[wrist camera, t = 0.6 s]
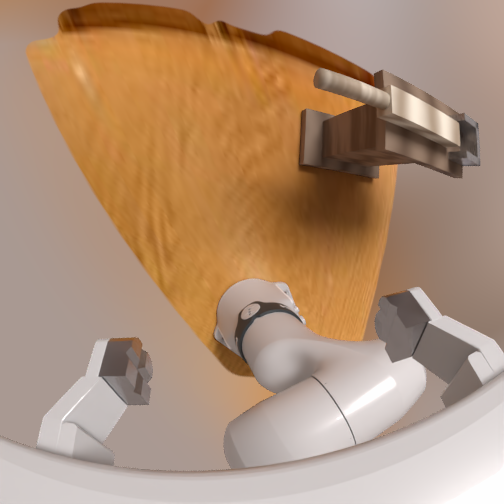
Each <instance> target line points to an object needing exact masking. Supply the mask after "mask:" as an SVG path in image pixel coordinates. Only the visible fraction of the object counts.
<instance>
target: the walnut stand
mask: <svg viewBox="0 0 504 504" xmlns="http://www.w3.org/2000/svg"><path fill="white" fill-rule="evenodd" d="M374 82H375V88H377V89H381V88H383V87H386V86H389V85H393V86H395V87H397V88H399V89H401V90H403V91H405V92H407V93H409V94H411V95H413V96H414V97H416V98H418V99H420V100H422V101H424V102H425V103H427V104H429V105H431V106H432V107H434V108H436V109H438V110H439V111H441V112H443V113H444V114H446V115H447V116H450V115H456V114H459V113H457V112H456V111H454V110H453V109H451V108H450V107H448V106H447V105H445V104H444V103H442V102H441V101H439V100H437V99H436V98H434V97H432V96H431V95H429V94H428V93H426V92H424V91H422V90H421V89H419V88H417V87H415V86H414V85H412V84H410V83H408V82H406V81H404V80H402V79H401V78H399V77H397V76H394V75H393V74H391V73H389V72H386V71H384V70H381V71H379V72H377V73H375V74H374ZM455 151H460V147H448V148H446V147H444V146H442V145H440V144H438V143H436V142H434V141H432V140H430V139H428V138H426V137H423V136H421V135H419V134H417V133H414V132H412V131H410V130H407V129H405V128H403V127H400V126H398V125H395V124H393V123H390V122H388V121H385V120H383V119H380V118H377V108H376V107H373V106H370V105H368V104H365V105H363V106H360V107H357V108H355V109H352V110H349V111H347V112H344V113H342V114H339V115H337V116H334V115H330V114H326V113H322V112H318V111H314V110H310V109H305V110H303V111H302V125H301V144H300V162H299V165H304V166H311V167H317V168H323V169H328V170H334V171H339V172H345V173H350V174H355V175H360V176H364V177H369V178H379V166H381V165H394V164H409V163H416V164H419V165H421V166H424V167H427V168H430V169H432V170H435V171H438V172H440V173H443V174H445V175H448V176H450V177H453V178H462V165H460V164H458V163H456V162H454V161H451V160H449V159H448V152H455Z"/></svg>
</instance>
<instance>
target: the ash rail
mask: <svg viewBox="0 0 504 504" xmlns="http://www.w3.org/2000/svg"><path fill="white" fill-rule="evenodd" d="M314 86H315V88H318V89H322V90H325V91H329V92H332V93H335V94H338V95H342V96H345V97H348V98H351V99H354V100H356V101H359V102H362V103H365V104H368V105H370V106H373V107H376V108H377V118H380V119H383V120H385V121H388V122H390V123H393V124H395V125H398V126H400V127H403V128H405V129H407V130H410V131H412V132H414V133H417V134H419V135H421V136H423V137H426V138H428V139H430V140H432V141H434V142H436V143H438V144H440V145H442V146H444V147H446V148H448V147H460V129H459V123H458V122H457V121H455V120H454V119H452V118H451V117H449V116H447V115H446V114H444V113H443V112H441V111H439V110H438V109H436V108H434V107H432V106H431V105H429V104H427V103H425V102H424V101H422V100H420V99H418V98H416V97H414V96H413V95H411V94H409V93H407V92H405V91H403V90H401V89H399V88H397V87H395V86H393V85H389V86H386V87H383V88H381V89H377V88H375V87H373V86H370V85H368V84H365V83H363V82H360V81H358V80H355V79H352V78H350V77H347V76H344V75H341V74H338V73H335V72H332V71H329V70H326V69H323V68H319V69H318V70H317V71H316V73H315V76H314Z"/></svg>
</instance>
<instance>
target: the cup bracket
mask: <svg viewBox="0 0 504 504" xmlns="http://www.w3.org/2000/svg"><path fill="white" fill-rule="evenodd" d="M449 117H451V118H452V119H454V120H455V121H457V122H458V123H459V129H460V151H455V152H448V159H449V160H451V161H454V162H456V163H458V164H460V165H462V166H480V145H479V130H478V123H477V122H475V121H474V120H473V119H471V118H470V117H469V116H467V115H466V114H465V113H462V114H456V115H450V116H449Z"/></svg>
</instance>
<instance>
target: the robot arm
mask: <svg viewBox="0 0 504 504" xmlns="http://www.w3.org/2000/svg"><path fill="white" fill-rule="evenodd" d="M284 291H285V292H284ZM378 306H379V307H380V310H379V311H378V313H377V314H376V317H375V329H376V333H377V335H378V337H379V339H375V340H369V341H345V340H337V339H331V338H327V337H323V336H320V335H318V334H316V333H314V332H313V331H311V330H310V329H309V328H307V327H306V326H305V325H306V321H305V320H304V318H303V317H302V316H299V314H298V312H299V309H298V308H297V306H295V303H294V301H293V298H292V295H291V293H290V290H289V287H288V285H287V284H286V283H285V282H273V283H272V282H268V281H265V280H261V279H246V280H243V281H240V282H238V283H236V284H234V285H233V286H231V287H230V288H229V289H228V290H227V291H226V292H225V293H224V295H223V296H222V298H221V299H220V302H219V304H218V308H217V325H216V328H215V330H214V337H215V339H216V340H218V341H219V342H220V343H222V344H223V345H224V346H226V347H227V348H229V349H230V350H231V351H233V352H234V353H236V354H237V355H238V356H240V357H241V358H243V360H244V361H245V362H246V363H247V364H248V365H249V367H250V368H251V370H252V372H253V374H254V376H255V378H256V380H257V381H258V382H259V384H261V385H262V386H263V387H265V388H266V389H267V390H269V391H272V392H274V393H276V395H274V396H271V397H269V398H267V399H265V400H263V401H261V402H259V403H258V404H256V405H255V406H253V407H252V408H250V409H249V410H247V411H246V412H244V413H243V414H241V415H240V416H238V417H237V418H236V419H234V420H233V421H231V422H230V423H229V424H228V426H227V428H226V431H225V435H224V453H225V457H226V459H227V462H228V463H229V466H230V467H231V469H226V470H208V471H166V470H148V469H136V468H126V467H118V466H114V453H113V451H112V450H110V449H109V448H107V447H106V446H104V445H103V442H104V441H105V439H106V438H107V436H108V435H109V433H110V431H111V430H112V429H113V427H114V426H115V424H116V423H117V421H118V420H119V418H120V417H121V415H122V414H123V412H124V411H125V410H126V408H127V405H149V398H150V390H151V388H150V387H149V385H148V384H147V383H148V382H149V381H150V380H151V378H152V373H153V369H152V361H151V358H150V356H149V354H148V353H147V352H146V351H144V350H142V343H141V341H140V340H139V338H135V337H134V338H111V339H98V340H97V341H96V343H95V346H94V349H93V352H92V355H91V359H90V362H89V365H88V369H87V372H86V376H85V377H81V378H80V379H79V380H78V381H77V382H76V383H75V384H74V385H73V386H72V387H71V388H70V390H69V391H68V392H67V393H66V394H65V395H64V396H63V397H62V398H61V399H60V400H59V401H58V402H57V403H56V404H55V405H54V406H53V407H52V408H51V409H50V411H49V412H48V413H47V414H46V415H45V416H44V417H43V421H42V425H41V429H40V433H39V438H38V442H37V446H36V448H33V447H30V446H27V445H24V444H21V443H18V442H15V441H13V440H10V439H8V438H5V437H2V436H0V504H504V353H503V352H502V350H501V349H500V347H499V346H498V344H497V343H496V342H495V340H493V339H491V338H489V337H487V336H485V335H483V334H481V333H479V332H478V331H475V330H474V329H471V328H470V327H468V326H465V325H463V324H462V323H460V322H458V321H456V320H454V319H451V318H449V317H447V316H442V315H441V314H440V312H439V311H438V310H437V309H436V307H435V306H434V305H433V303H432V302H431V301H430V299H429V298H428V297H427V296H426V294H425V293H424V292H423V291H422V289H421V288H419V287H415V288H411V289H408V290H404V291H400V292H397V293H393V294H389V295H386V296H382V297H381V298H380V300H379V304H378ZM222 338H223V339H222ZM425 367H426V368H427V369H428V370H430V371H431V372H432V373H434V374H435V375H437V376H438V377H439V378H441V379H442V380H443V381H445V382H446V383H448V386H447V387H446V388H445V390H444V391H443V392H442V394H441V399H442V401H443V403H444V405H445V407H446V408H444V409H442V410H440V411H438V412H436V413H434V414H432V415H430V416H428V417H426V418H424V419H422V420H419V421H417V422H415V423H413V424H410V425H408V426H406V427H403V428H401V429H398V430H396V431H393V432H391V433H388V434H386V435H383V436H380V437H378V438H375V437H376V436H378V435H379V434H381V433H382V432H383V431H385V430H386V429H387V428H389V427H390V426H392V425H393V424H394V423H396V422H397V421H398V420H399V419H401V418H402V417H403V416H404V415H405V413H406V412H407V411H408V410H409V409H410V408H411V407H412V406H413V404H414V403H415V402H416V401H417V399H418V398H419V397H420V396H421V394H422V393H423V392H424V390H425V387H426V370H425ZM373 438H375V439H373Z"/></svg>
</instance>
